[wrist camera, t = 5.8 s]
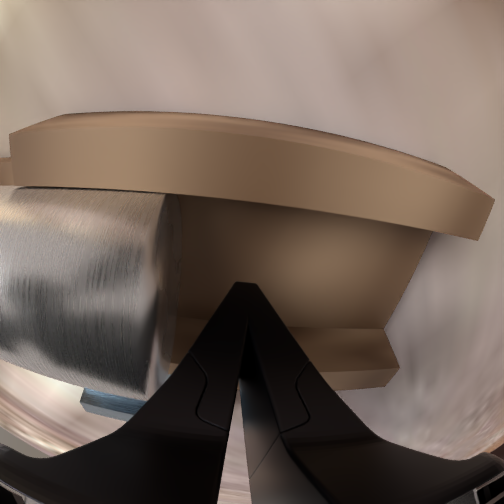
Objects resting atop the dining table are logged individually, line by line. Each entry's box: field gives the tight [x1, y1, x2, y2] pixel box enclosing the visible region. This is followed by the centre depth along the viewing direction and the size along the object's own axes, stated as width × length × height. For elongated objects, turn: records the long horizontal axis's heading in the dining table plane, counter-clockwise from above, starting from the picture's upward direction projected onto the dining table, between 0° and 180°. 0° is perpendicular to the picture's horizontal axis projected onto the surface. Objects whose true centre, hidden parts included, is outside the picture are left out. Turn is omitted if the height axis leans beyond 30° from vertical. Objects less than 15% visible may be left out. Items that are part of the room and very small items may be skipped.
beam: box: [0, 111, 495, 391], centre depth 9 cm, size 22×9×3 cm, turn 82°
